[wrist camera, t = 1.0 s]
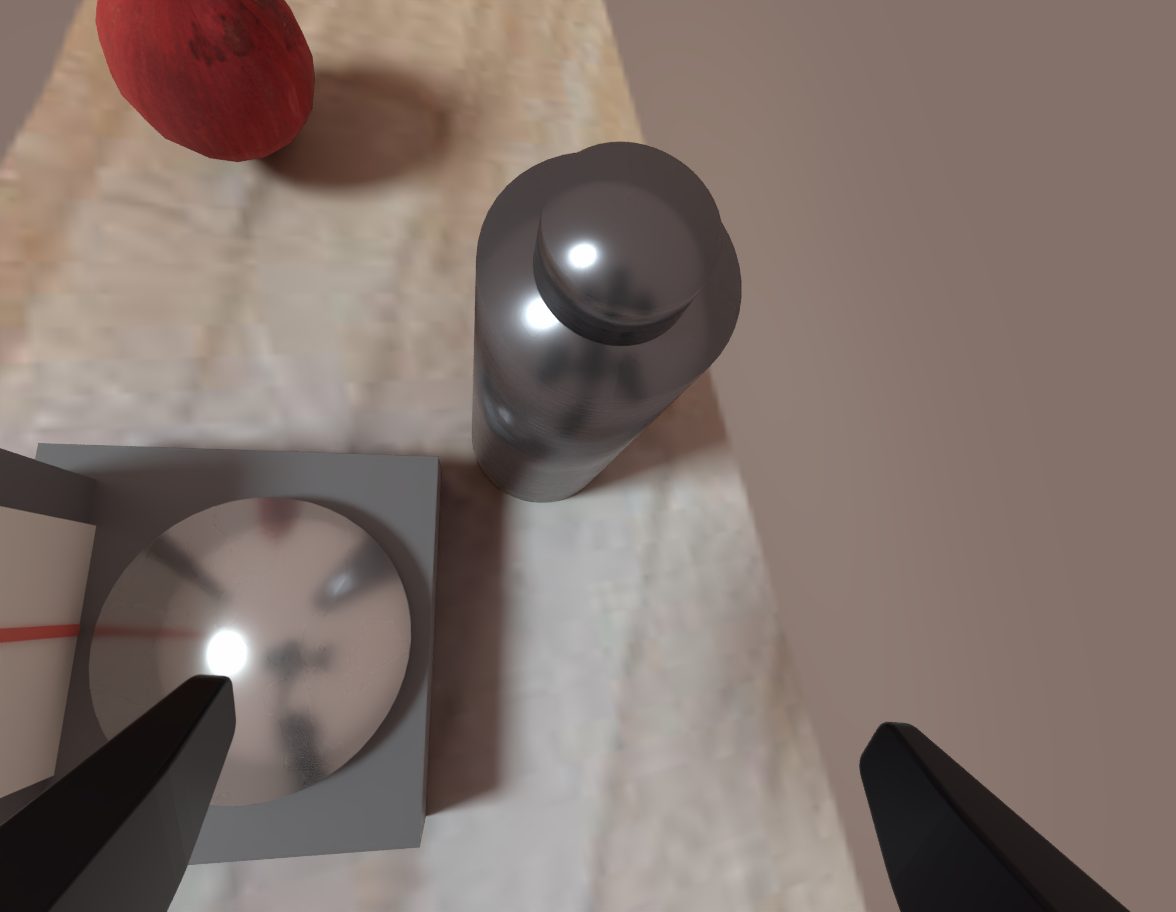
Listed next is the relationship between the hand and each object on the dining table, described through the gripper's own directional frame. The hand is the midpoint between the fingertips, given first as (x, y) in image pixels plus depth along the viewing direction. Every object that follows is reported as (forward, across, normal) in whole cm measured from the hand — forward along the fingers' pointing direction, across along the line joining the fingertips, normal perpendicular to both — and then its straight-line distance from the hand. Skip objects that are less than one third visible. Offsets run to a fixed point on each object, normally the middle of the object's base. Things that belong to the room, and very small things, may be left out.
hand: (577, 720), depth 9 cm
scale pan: (+8, +7, +7) cm, 13 cm away
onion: (+22, +12, -4) cm, 25 cm away
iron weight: (+15, 0, +3) cm, 15 cm away
